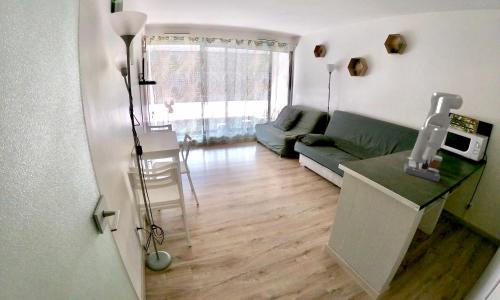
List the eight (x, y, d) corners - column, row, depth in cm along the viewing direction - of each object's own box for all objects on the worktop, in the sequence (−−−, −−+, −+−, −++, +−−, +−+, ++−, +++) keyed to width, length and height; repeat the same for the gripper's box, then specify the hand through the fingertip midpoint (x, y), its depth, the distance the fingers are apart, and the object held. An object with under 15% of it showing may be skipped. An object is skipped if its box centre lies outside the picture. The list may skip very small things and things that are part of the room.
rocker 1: (408, 161, 179) (409, 160, 178) (414, 163, 177) (415, 161, 177) (408, 167, 172) (409, 165, 172) (415, 168, 171) (416, 167, 170)
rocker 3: (428, 169, 174) (429, 167, 174) (435, 170, 172) (435, 169, 172) (431, 170, 166) (432, 168, 166) (438, 172, 164) (439, 170, 164)
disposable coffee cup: (431, 172, 180) (437, 158, 175) (419, 167, 188) (425, 153, 184) (439, 172, 182) (446, 158, 178) (428, 167, 191) (434, 154, 187)
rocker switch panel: (402, 165, 188) (404, 160, 186) (433, 173, 179) (435, 168, 177) (404, 172, 172) (406, 167, 171) (438, 181, 164) (440, 176, 162)
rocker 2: (418, 164, 176) (419, 162, 176) (425, 165, 175) (426, 164, 174) (419, 169, 170) (420, 168, 169) (426, 171, 168) (427, 170, 167)
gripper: (425, 141, 170) (416, 164, 176) (429, 146, 157) (419, 170, 164) (437, 144, 167) (427, 167, 173) (442, 149, 154) (431, 173, 160)
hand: (423, 168), depth 168 cm, fingers closed
